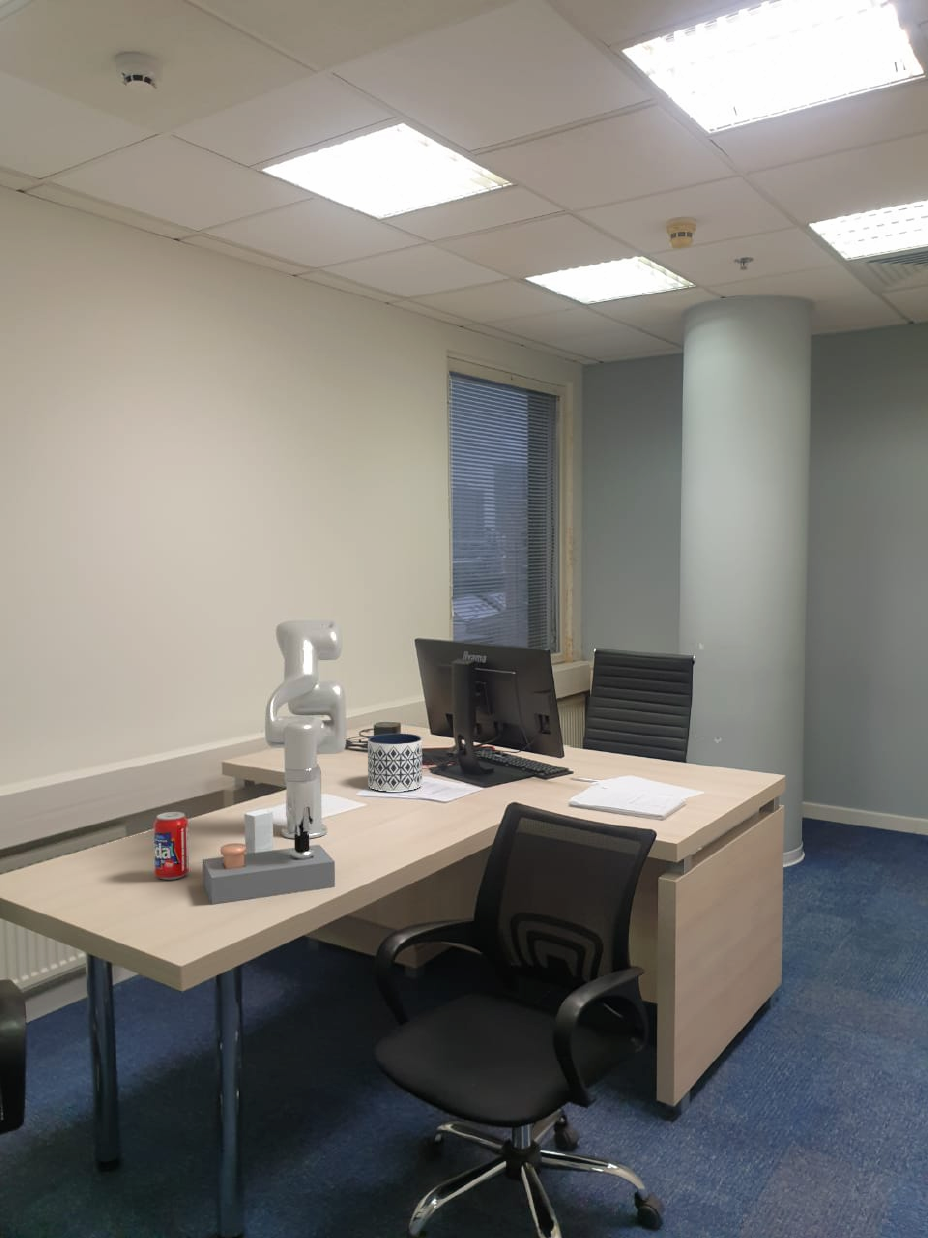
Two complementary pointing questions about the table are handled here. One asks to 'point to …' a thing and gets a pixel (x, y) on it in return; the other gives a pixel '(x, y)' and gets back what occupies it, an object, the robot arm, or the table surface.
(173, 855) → the soda can
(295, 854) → the grey plunger
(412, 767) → the planter
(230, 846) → the peach dome knob
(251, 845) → the skincare box
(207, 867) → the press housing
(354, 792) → the table surface
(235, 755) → the table surface
